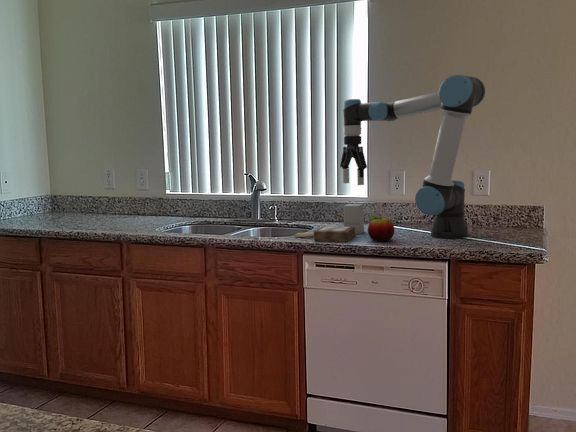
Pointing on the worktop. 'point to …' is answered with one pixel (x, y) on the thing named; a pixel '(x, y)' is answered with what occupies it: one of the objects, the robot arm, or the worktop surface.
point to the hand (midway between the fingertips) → (353, 184)
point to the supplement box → (354, 217)
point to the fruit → (380, 229)
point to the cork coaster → (305, 234)
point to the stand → (334, 234)
